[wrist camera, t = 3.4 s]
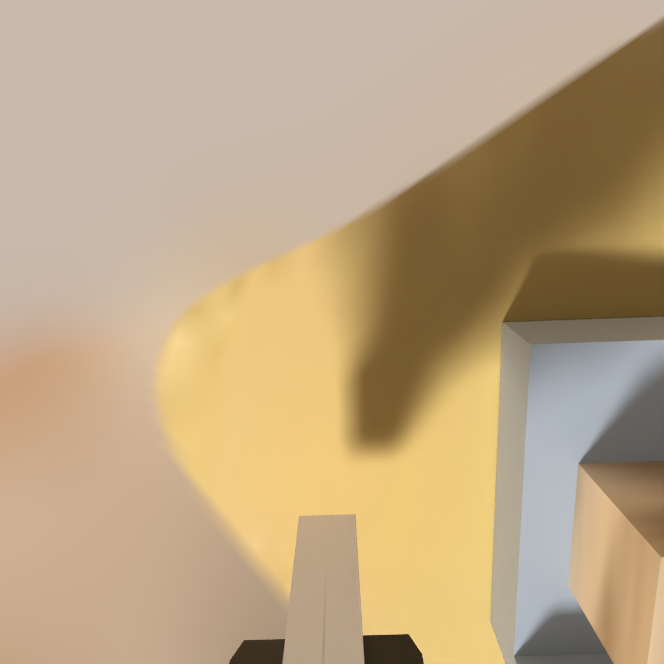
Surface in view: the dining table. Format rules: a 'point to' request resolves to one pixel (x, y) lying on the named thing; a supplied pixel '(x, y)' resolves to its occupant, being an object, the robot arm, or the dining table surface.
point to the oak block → (621, 557)
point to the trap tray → (563, 466)
